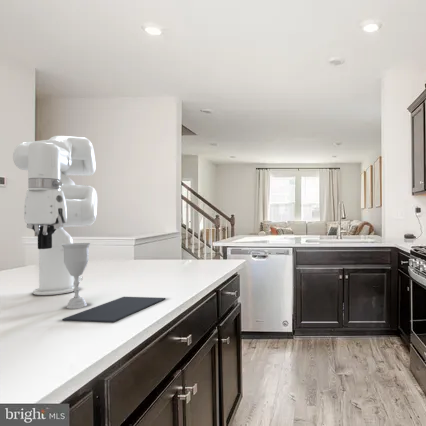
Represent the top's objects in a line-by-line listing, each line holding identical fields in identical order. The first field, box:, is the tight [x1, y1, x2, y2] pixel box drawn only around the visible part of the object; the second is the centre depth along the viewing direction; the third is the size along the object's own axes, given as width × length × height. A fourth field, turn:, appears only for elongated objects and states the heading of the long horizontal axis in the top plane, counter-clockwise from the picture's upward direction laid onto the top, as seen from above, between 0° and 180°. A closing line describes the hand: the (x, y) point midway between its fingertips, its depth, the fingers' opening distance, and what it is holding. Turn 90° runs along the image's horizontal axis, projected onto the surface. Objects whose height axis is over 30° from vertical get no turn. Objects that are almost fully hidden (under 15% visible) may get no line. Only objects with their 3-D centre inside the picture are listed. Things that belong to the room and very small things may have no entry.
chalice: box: [62, 242, 91, 310], centre depth 107 cm, size 7×7×18 cm
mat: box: [62, 296, 166, 323], centre depth 105 cm, size 24×14×1 cm, turn 173°
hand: (44, 248), depth 108 cm, fingers closed
